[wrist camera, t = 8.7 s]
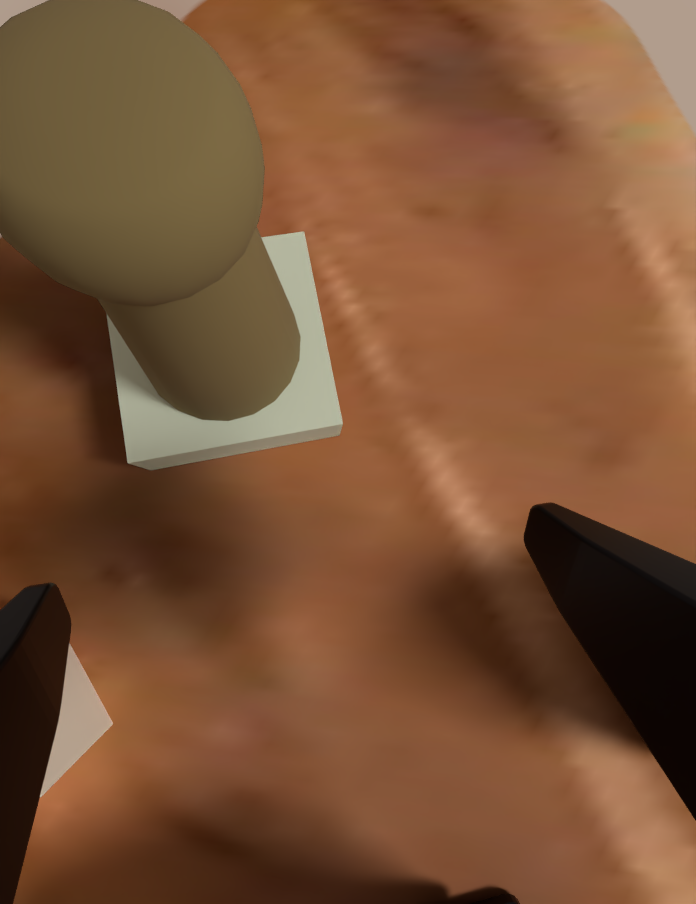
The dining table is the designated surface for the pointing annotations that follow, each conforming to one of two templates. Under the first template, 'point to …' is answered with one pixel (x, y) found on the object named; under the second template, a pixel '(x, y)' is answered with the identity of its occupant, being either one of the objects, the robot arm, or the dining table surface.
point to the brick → (75, 721)
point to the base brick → (280, 423)
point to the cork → (146, 196)
